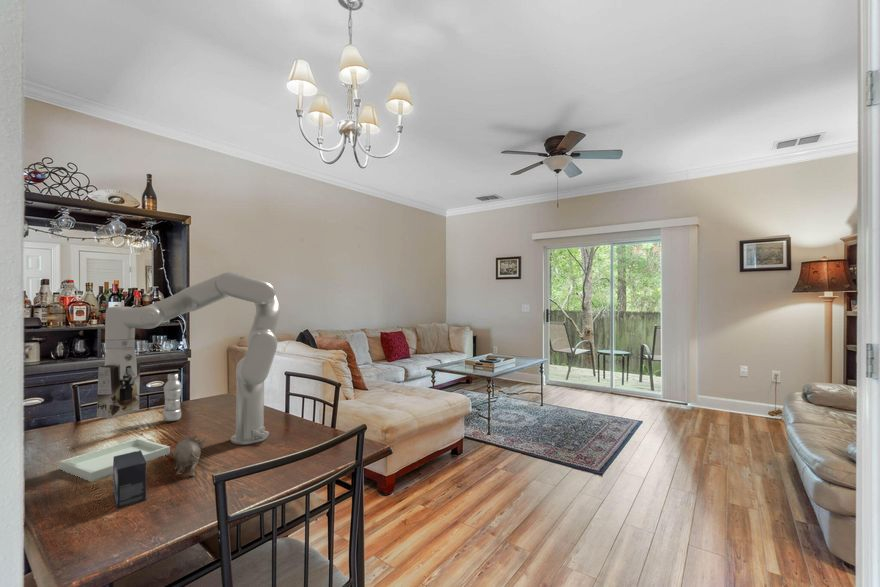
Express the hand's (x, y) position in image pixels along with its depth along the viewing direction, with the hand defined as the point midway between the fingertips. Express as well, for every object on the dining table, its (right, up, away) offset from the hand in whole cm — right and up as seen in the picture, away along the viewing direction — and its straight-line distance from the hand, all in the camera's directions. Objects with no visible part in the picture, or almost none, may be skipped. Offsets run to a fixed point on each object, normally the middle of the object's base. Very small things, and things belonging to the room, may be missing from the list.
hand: (118, 398), depth 127 cm
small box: (+21, -21, -22) cm, 37 cm away
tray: (0, -21, 0) cm, 21 cm away
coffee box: (0, -5, 0) cm, 5 cm away
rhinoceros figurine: (+25, -21, -3) cm, 33 cm away
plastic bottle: (-11, -21, +41) cm, 47 cm away
